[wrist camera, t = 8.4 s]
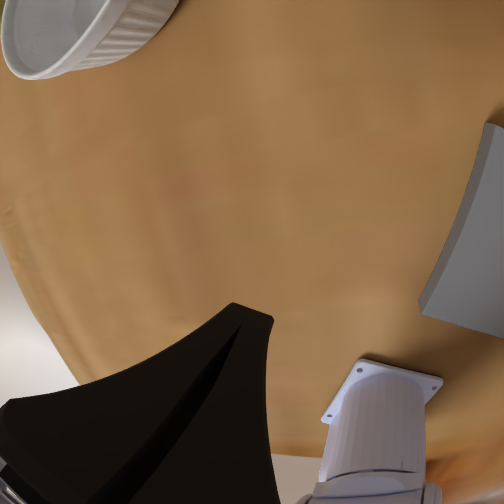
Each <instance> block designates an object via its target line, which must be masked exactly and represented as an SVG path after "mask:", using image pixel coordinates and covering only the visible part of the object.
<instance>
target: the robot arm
mask: <svg viewBox="0 0 504 504" xmlns="http://www.w3.org/2000/svg"><path fill="white" fill-rule="evenodd" d="M273 323H274V319H273V317H272V316H270V315H267V314H265V313H262V312H259V311H256V310H253V309H250V308H248V307H245V306H242V305H239V304H237V303H234V302H233V303H230V304H229V305H227V306H226V307H225V308H224V309H223V310H221V311H220V312H219V313H218V314H216V315H215V316H214V317H213V318H211V319H210V320H209V321H207V322H206V323H205V324H203V325H202V326H200V327H199V328H198V329H196V330H195V331H193V332H192V333H190V334H189V335H187V336H186V337H184V338H183V339H181V340H180V341H178V342H176V343H175V344H173V345H171V346H170V347H168V348H166V349H165V350H163V351H161V352H159V353H158V354H156V355H154V356H152V357H150V358H148V359H146V360H145V361H142V362H140V363H138V364H136V365H134V366H132V367H130V368H128V369H125V370H123V371H121V372H118V373H116V374H113V375H110V376H108V377H105V378H103V379H100V380H97V381H94V382H91V383H88V384H84V385H81V386H77V387H74V388H70V389H66V390H62V391H58V392H54V393H49V394H43V395H36V396H30V397H23V398H14V399H10V400H8V401H7V402H6V403H5V404H4V405H3V406H2V407H1V408H0V504H281V503H280V499H279V495H278V491H277V486H276V481H275V475H274V469H273V465H272V459H271V452H270V444H269V436H268V426H267V413H266V360H267V349H268V342H269V336H270V333H271V329H272V326H273ZM358 368H362V369H358ZM442 385H443V379H442V378H440V377H436V376H431V375H427V374H423V373H418V372H414V371H410V370H406V369H402V368H398V367H394V366H390V365H386V364H382V363H378V362H375V361H371V360H367V359H359V360H358V361H357V362H356V364H355V365H354V367H353V369H352V370H351V372H350V374H349V375H348V377H347V379H346V380H345V382H344V383H343V385H342V387H341V388H340V390H339V391H338V393H337V395H336V396H335V398H334V399H333V401H332V402H331V404H330V405H329V407H328V408H327V410H326V411H325V413H324V414H323V416H322V418H321V421H322V422H323V423H326V424H330V427H329V432H328V436H327V441H326V445H325V450H324V454H323V458H322V463H321V466H320V471H319V482H317V483H316V484H315V488H314V491H313V494H308V495H305V496H303V497H302V498H301V499H300V500H299V501H298V502H297V503H296V504H442V489H441V488H440V487H439V486H436V483H435V482H433V483H428V484H426V481H425V462H426V432H425V406H424V405H425V404H426V403H427V402H428V401H429V400H430V399H431V398H432V397H433V396H434V394H435V393H436V392H437V391H438V390H439V389H440V387H441V386H442ZM434 386H435V387H434ZM6 486H7V487H8V488H9V489H10V490H11V491H12V492H13V493H14V494H15V495H16V496H17V497H16V496H15V495H14V494H12V493H11V492H9V491H8V490H7V488H6Z"/></svg>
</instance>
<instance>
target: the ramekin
mask: <svg viewBox="0 0 504 504" xmlns="http://www.w3.org/2000/svg"><path fill="white" fill-rule="evenodd" d="M178 2H179V0H6V2H5V6H4V10H3V15H2V23H1V44H2V51H3V55H4V58H5V61H6V63H7V65H8V67H9V69H10V70H11V71H12V72H13V73H14V74H15V75H16V76H18V77H19V78H22V79H27V80H36V79H48V78H52V77H56V76H58V75H61V74H63V73H65V72H68V71H74V70H80V69H86V68H92V67H98V66H103V65H106V64H110V63H114V62H116V61H118V60H121V59H123V58H125V57H127V56H128V55H130V54H132V53H134V52H135V51H136V50H138V49H139V48H141V47H142V46H144V45H145V44H146V43H147V42H148V41H149V40H150V39H151V38H152V37H153V36H154V35H155V34H156V33H157V32H158V31H159V30H160V29H161V28H162V26H163V25H164V24H165V23H166V21H167V20H168V19H169V17H170V16H171V14H172V13H173V11H174V9H175V8H176V6H177V4H178Z"/></svg>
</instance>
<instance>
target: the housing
mask: <svg viewBox="0 0 504 504" xmlns="http://www.w3.org/2000/svg"><path fill="white" fill-rule="evenodd" d="M418 302H419V307H420V312H421V315H424V316H428V317H431V318H435V319H438V320H441V321H445V322H448V323H452V324H455V325H458V326H462V327H465V328H469V329H472V330H475V331H479V332H482V333H486V334H489V335H493V336H496V337H500V338H503V339H504V129H503V128H502V127H500V126H498V125H496V124H491V123H486V122H485V126H484V130H483V134H482V138H481V142H480V146H479V150H478V153H477V157H476V160H475V164H474V167H473V170H472V173H471V177H470V180H469V183H468V186H467V189H466V192H465V195H464V197H463V200H462V203H461V206H460V209H459V211H458V214H457V216H456V219H455V222H454V224H453V227H452V229H451V232H450V234H449V236H448V239H447V241H446V244H445V246H444V248H443V250H442V253H441V255H440V257H439V259H438V262H437V264H436V266H435V268H434V270H433V272H432V274H431V276H430V278H429V281H428V283H427V285H426V287H425V289H424V290H423V292H422V294H421V296H420V298H419V300H418Z"/></svg>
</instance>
